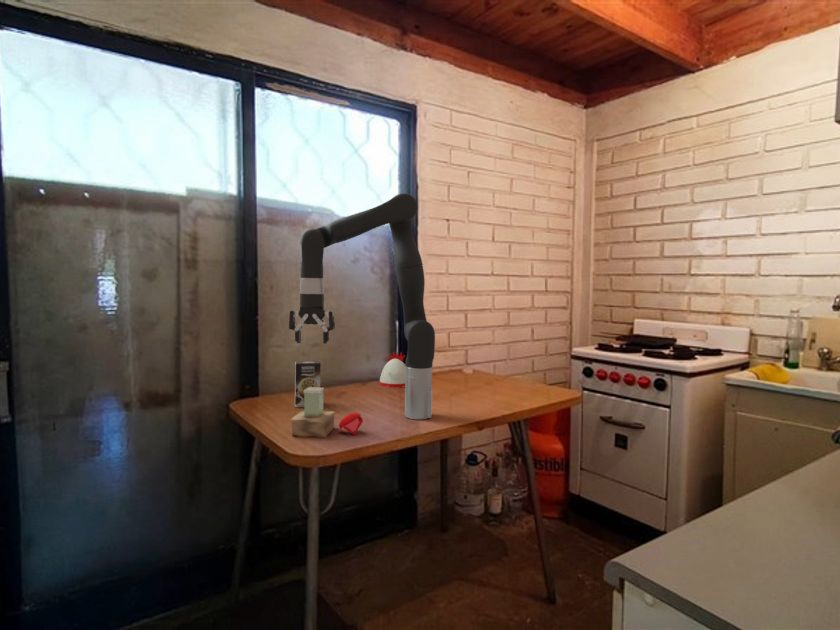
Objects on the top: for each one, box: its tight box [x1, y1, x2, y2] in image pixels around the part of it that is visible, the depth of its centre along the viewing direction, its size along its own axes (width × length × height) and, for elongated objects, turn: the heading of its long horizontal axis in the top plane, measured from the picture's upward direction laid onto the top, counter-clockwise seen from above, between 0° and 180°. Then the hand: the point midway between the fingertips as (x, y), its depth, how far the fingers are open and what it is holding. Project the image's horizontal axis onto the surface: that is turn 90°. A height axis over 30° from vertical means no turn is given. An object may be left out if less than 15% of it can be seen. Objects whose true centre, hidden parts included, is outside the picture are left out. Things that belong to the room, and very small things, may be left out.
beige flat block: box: [290, 410, 336, 438], centre depth 150 cm, size 11×11×5 cm
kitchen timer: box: [379, 351, 406, 388], centre depth 223 cm, size 14×14×15 cm
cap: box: [338, 412, 364, 436], centre depth 150 cm, size 8×6×6 cm
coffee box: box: [294, 360, 322, 408], centre depth 183 cm, size 9×6×16 cm
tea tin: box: [303, 386, 325, 418], centre depth 150 cm, size 5×5×8 cm
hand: (312, 343), depth 158 cm, fingers open, 8 cm apart
